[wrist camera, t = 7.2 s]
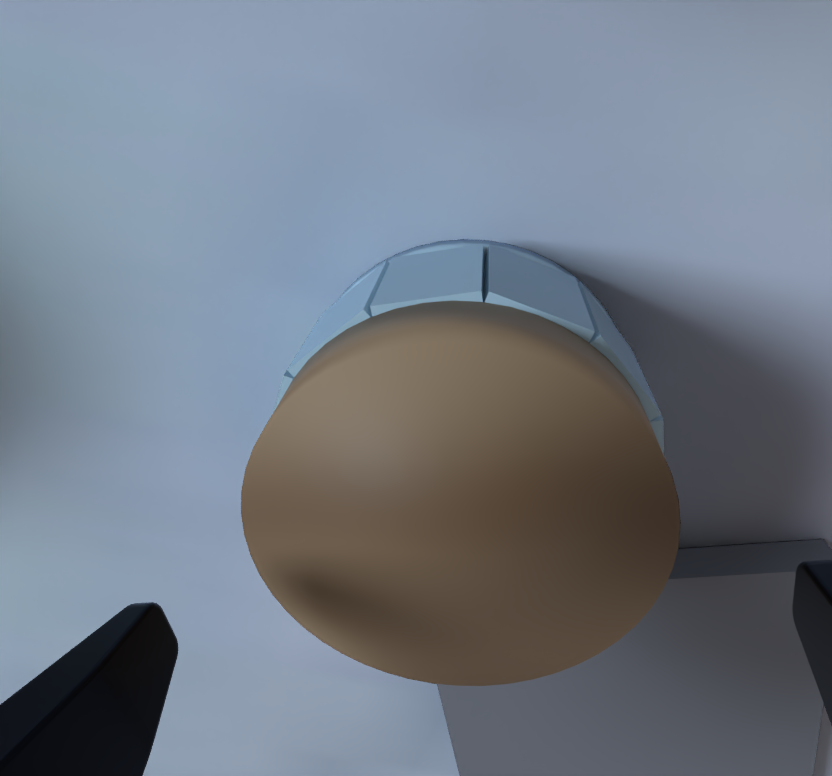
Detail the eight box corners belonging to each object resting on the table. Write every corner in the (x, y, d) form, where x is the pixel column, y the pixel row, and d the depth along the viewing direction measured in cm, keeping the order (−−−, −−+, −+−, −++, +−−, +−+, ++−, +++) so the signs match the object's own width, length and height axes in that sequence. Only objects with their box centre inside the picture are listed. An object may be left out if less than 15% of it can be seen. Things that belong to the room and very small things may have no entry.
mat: (792, 788, 20) (806, 822, 19) (471, 790, 22) (471, 822, 21) (823, 538, 16) (843, 568, 15) (418, 566, 17) (414, 594, 17)
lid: (659, 609, 13) (681, 678, 11) (322, 627, 14) (304, 692, 13) (652, 270, 10) (680, 308, 8) (220, 331, 11) (179, 374, 10)
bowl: (632, 504, 16) (666, 614, 13) (350, 526, 17) (320, 631, 14) (620, 211, 13) (662, 265, 10) (275, 265, 14) (215, 327, 11)
